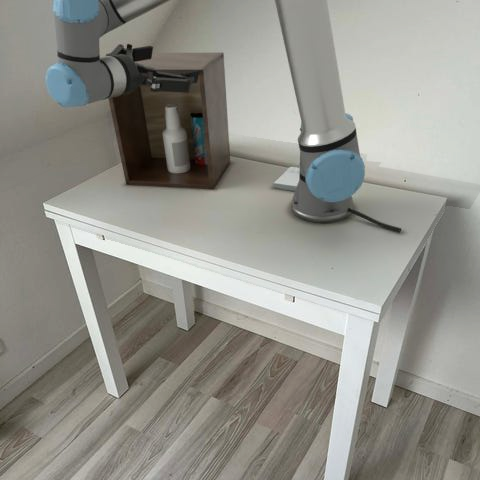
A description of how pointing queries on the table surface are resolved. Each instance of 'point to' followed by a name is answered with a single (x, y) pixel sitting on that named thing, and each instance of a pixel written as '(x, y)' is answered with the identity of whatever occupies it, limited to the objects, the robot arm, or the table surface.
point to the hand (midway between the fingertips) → (173, 64)
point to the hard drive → (288, 179)
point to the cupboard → (154, 122)
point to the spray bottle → (175, 142)
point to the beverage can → (199, 138)
